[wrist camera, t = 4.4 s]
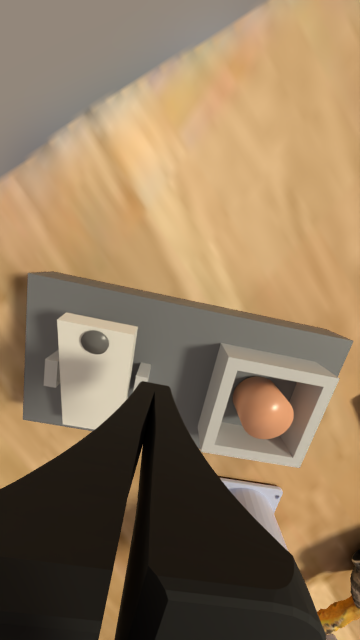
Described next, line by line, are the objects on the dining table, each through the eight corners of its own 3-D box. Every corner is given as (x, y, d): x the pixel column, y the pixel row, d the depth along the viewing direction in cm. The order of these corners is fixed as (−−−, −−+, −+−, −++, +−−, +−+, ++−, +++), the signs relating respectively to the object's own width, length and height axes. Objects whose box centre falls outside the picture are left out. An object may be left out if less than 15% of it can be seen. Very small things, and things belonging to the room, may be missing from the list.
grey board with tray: (282, 438, 22) (316, 494, 17) (44, 397, 20) (-3, 444, 15) (326, 329, 19) (384, 354, 14) (52, 271, 17) (-3, 274, 12)
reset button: (269, 419, 17) (283, 443, 15) (227, 411, 17) (235, 434, 15) (283, 380, 17) (301, 399, 14) (239, 372, 16) (250, 390, 14)
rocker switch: (124, 422, 17) (120, 435, 16) (69, 413, 17) (61, 426, 16) (137, 326, 13) (133, 336, 12) (66, 312, 13) (55, 320, 12)
